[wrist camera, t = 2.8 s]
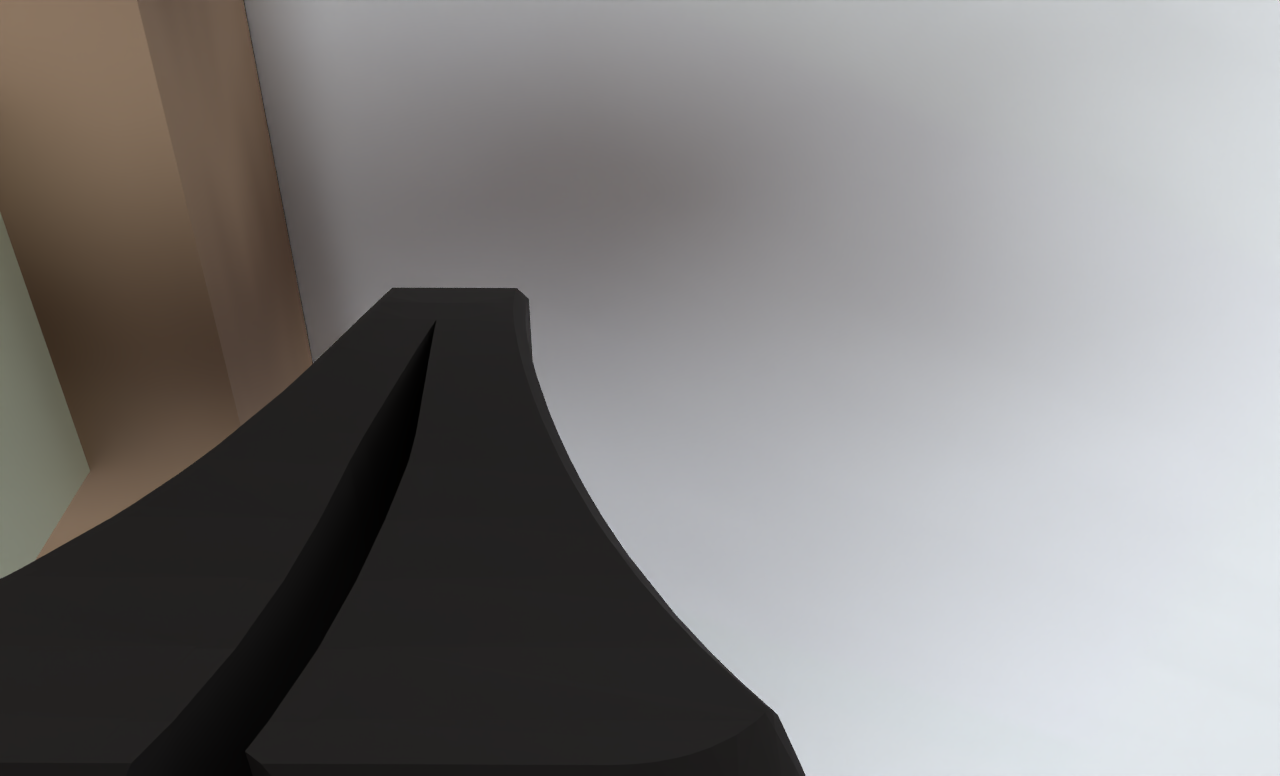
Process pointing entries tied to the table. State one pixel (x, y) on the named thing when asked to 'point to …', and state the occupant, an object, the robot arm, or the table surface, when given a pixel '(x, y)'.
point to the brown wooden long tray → (146, 231)
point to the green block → (30, 427)
